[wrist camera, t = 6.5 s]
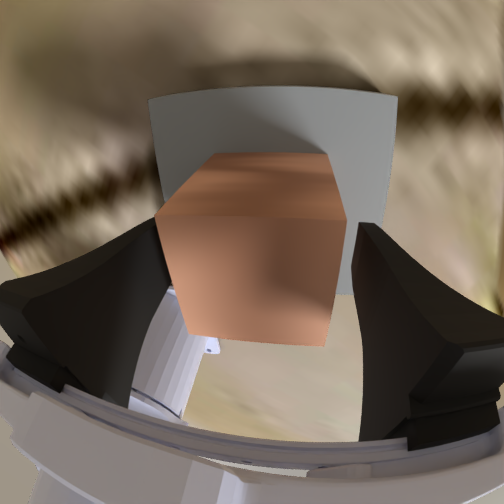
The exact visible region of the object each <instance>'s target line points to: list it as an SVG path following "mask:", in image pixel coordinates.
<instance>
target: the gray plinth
mask: <svg viewBox="0 0 504 504" xmlns="http://www.w3.org/2000/svg"><path fill="white" fill-rule="evenodd" d="M397 101H398V97H397V96H393V95H388V94H384V93H379V92H372V91H364V90H356V89H346V88H335V87H320V86H295V85H268V86H242V87H227V88H216V89H206V90H198V91H190V92H183V93H176V94H170V95H165V96H161V97H156V98H152V99H148V106H149V114H150V121H151V128H152V135H153V141H154V147H155V154H156V159H157V165H158V171H159V176H160V182H161V187H162V192H163V197H164V202H165V203H166V202H167V201H168V200H169V199H170V198H171V197H172V196H173V194H174V193H175V192H176V191H177V190H178V189H179V188H180V187H181V186H182V185H183V184H184V183H185V182H186V181H187V180H188V179H189V178H190V177H191V176H192V175H193V174H194V173H195V172H196V171H197V170H198V169H199V168H200V167H201V166H202V165H203V164H204V163H205V162H206V161H207V160H208V159H209V158H210V157H211V156H212V155H213V154H214V153H241V152H288V153H316V154H328V157H329V160H330V164H331V167H332V170H333V173H334V176H335V179H336V183H337V186H338V190H339V193H340V196H341V200H342V203H343V207H344V211H345V214H346V218H347V226H346V233H345V240H344V247H343V254H342V260H341V266H340V272H339V278H338V283H337V289H336V294H340V295H354V293H353V288H352V275H351V263H352V257H353V252H354V247H355V241H356V235H357V229H358V223H359V222H369V223H375V224H376V225H378V226H379V227H380V228H381V227H382V222H383V217H384V211H385V206H386V200H387V194H388V188H389V181H390V175H391V167H392V159H393V151H394V141H395V131H396V118H397Z"/></svg>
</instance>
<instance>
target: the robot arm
mask: <svg viewBox="0 0 504 504" xmlns="http://www.w3.org/2000/svg"><path fill="white" fill-rule="evenodd" d="M351 275H352V288H353V293H354V298H355V304H356V309H357V314H358V319H359V325H360V331H361V337H362V346H363V401H362V416H361V425H360V434H359V442H294V441H280V440H268V439H259V438H251V437H243V436H236V435H230V434H224V433H218V432H213V431H208V430H203V429H198V428H194V427H189V426H188V423H187V422H185V421H183V420H182V417H183V414H184V411H185V408H186V404H187V401H188V398H189V395H190V392H191V389H192V386H193V383H194V380H195V377H196V374H197V371H198V368H199V365H200V362H201V359H202V356H203V353H204V352H205V353H212V354H219V353H220V345H219V341H218V338H214V337H206V336H199V335H192V334H189V333H188V330H187V327H186V324H185V321H184V318H183V315H182V312H181V309H180V306H179V303H178V299H177V296H176V293H175V290H174V287H173V286H170V284H171V282H172V280H171V277H170V273H169V270H168V266H167V263H166V259H165V256H164V252H163V248H162V244H161V241H160V237H159V233H158V229H157V225H156V221H155V217H153V218H151V219H149V220H147V221H145V222H143V223H141V224H139V225H138V226H136V227H134V228H132V229H131V230H129V231H127V232H125V233H124V234H122V235H120V236H118V237H117V238H115V239H113V240H111V241H109V242H108V243H106V244H104V245H102V246H101V247H99V248H97V249H95V250H93V251H91V252H89V253H87V254H85V255H83V256H81V257H78V258H76V259H74V260H72V261H69V262H67V263H64V264H62V265H59V266H57V267H54V268H52V269H49V270H46V271H43V272H40V273H36V274H33V275H29V276H26V277H21V278H17V279H13V280H9V281H5V282H4V283H2V284H1V285H0V325H1V326H2V328H3V329H4V330H5V332H6V333H7V334H8V336H9V337H10V338H11V340H13V342H14V345H13V346H12V348H10V347H9V346H8V345H7V344H6V343H4V342H3V341H1V340H0V416H1V417H2V418H3V419H4V420H5V421H6V422H7V423H8V424H9V425H10V426H11V427H12V428H13V431H12V434H11V436H10V439H11V442H12V444H13V445H14V446H15V447H16V448H17V449H18V450H19V451H20V452H21V453H22V454H23V455H24V456H26V457H27V458H28V459H29V460H30V461H32V462H33V463H34V464H35V466H36V468H37V470H38V471H39V473H38V476H37V479H36V481H35V484H34V487H33V490H32V493H31V495H30V498H29V501H28V504H467V503H469V502H471V501H473V500H475V499H477V498H480V497H482V496H484V495H486V494H488V493H490V492H492V491H494V490H496V489H498V488H499V487H501V486H503V485H504V406H503V407H502V408H500V409H497V405H496V401H498V400H499V399H500V396H501V395H500V392H499V387H500V386H501V385H502V384H503V383H504V317H501V316H499V315H497V314H495V313H493V312H491V311H489V310H487V309H485V308H483V307H482V306H480V305H478V304H476V303H474V302H473V301H471V300H469V299H468V298H466V297H464V296H463V295H461V294H460V293H458V292H457V291H455V290H454V289H452V288H450V287H449V286H448V285H446V284H445V283H443V282H442V281H441V280H439V279H438V278H437V277H435V276H434V275H433V274H431V273H430V272H429V271H428V270H426V269H425V268H424V267H423V266H422V265H420V264H419V263H418V262H417V261H416V260H415V259H413V258H412V257H411V256H410V255H409V254H408V253H407V252H406V251H405V250H403V249H402V248H401V247H400V246H399V245H398V244H397V243H396V242H395V241H394V240H393V239H392V238H391V237H390V236H389V235H388V234H386V233H385V232H384V231H383V230H382V229H381V228H380V227H379V226H378V225H376V224H375V223H369V222H359V223H358V229H357V235H356V241H355V247H354V252H353V257H352V263H351ZM199 456H201V457H206V458H211V459H216V460H221V461H227V462H233V463H239V464H246V465H253V466H262V467H271V468H283V469H303V470H309V471H308V472H307V476H306V477H296V476H286V475H278V474H270V473H264V472H257V471H252V470H246V469H241V468H235V467H231V466H226V465H222V464H219V463H216V462H213V461H210V460H207V459H204V458H201V457H199Z"/></svg>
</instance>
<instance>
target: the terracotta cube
mask: <svg viewBox="0 0 504 504" xmlns="http://www.w3.org/2000/svg"><path fill="white" fill-rule="evenodd" d="M154 217H155V221H156V225H157V229H158V233H159V237H160V241H161V244H162V248H163V252H164V256H165V259H166V263H167V266H168V270H169V273H170V277H171V280H172V283H173V287H174V290H175V293H176V296H177V299H178V303H179V306H180V309H181V312H182V315H183V318H184V321H185V324H186V327H187V330H188V333H189V334H192V335H199V336H206V337H214V338H222V339H230V340H240V341H250V342H261V343H273V344H287V345H304V346H325V341H326V337H327V333H328V328H329V324H330V319H331V314H332V309H333V304H334V299H335V294H336V289H337V283H338V278H339V272H340V266H341V260H342V254H343V247H344V240H345V233H346V226H347V218H346V214H345V211H344V207H343V203H342V200H341V196H340V193H339V190H338V186H337V183H336V179H335V176H334V173H333V170H332V167H331V164H330V160H329V157H328V154H316V153H288V152H241V153H214V154H213V155H212V156H211V157H210V158H209V159H208V160H207V161H206V162H205V163H204V164H203V165H202V166H201V167H200V168H199V169H198V170H197V171H196V172H195V173H194V174H193V175H192V176H191V177H190V178H189V179H188V180H187V181H186V182H185V183H184V184H183V185H182V186H181V187H180V188H179V189H178V190H177V191H176V192H175V193H174V194H173V196H172V197H171V198H170V199H169V200H168V201H167V202H166V203H165V204H164V205H163V206H162V207H161V208H160V210H159V211H158V212H157V213H156V214H155V215H154Z"/></svg>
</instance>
